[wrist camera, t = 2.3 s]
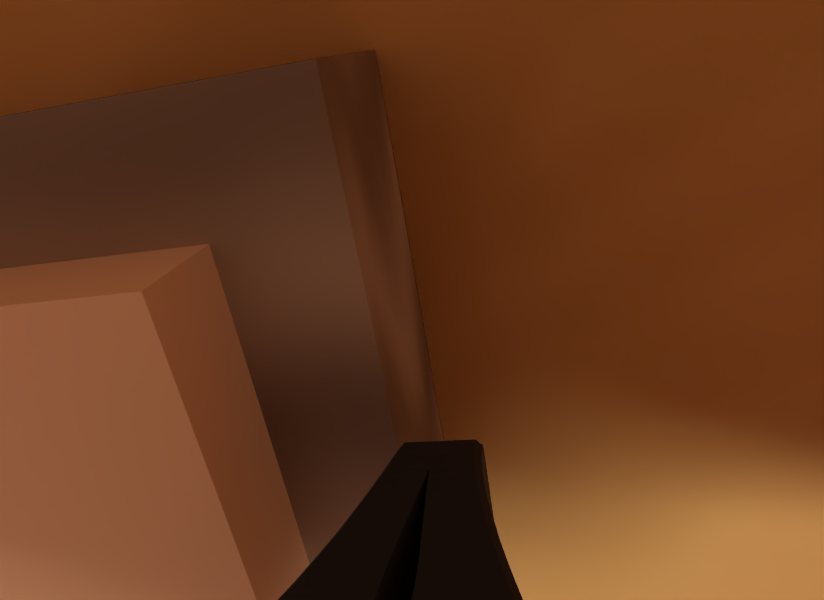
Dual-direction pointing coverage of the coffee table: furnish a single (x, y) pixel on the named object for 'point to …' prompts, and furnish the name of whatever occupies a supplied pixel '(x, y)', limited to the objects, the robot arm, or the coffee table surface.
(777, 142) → the coffee table surface
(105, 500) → the tan rectangular brick
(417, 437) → the brown flat block
